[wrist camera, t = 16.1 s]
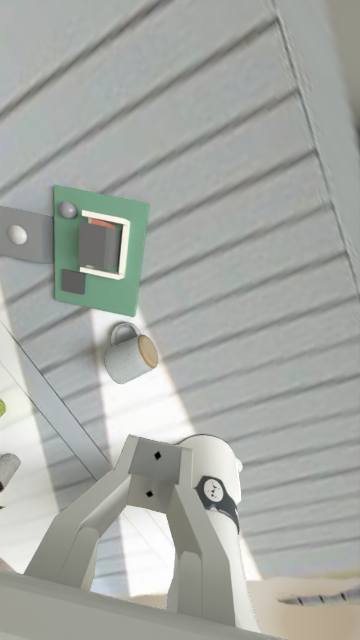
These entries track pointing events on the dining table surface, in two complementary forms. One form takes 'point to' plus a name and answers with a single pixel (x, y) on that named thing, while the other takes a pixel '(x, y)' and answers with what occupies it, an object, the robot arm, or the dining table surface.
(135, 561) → the dining table surface
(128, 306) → the board
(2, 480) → the house plant
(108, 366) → the ceramic mug
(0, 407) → the plant pot
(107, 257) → the plug
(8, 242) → the gray push button box
